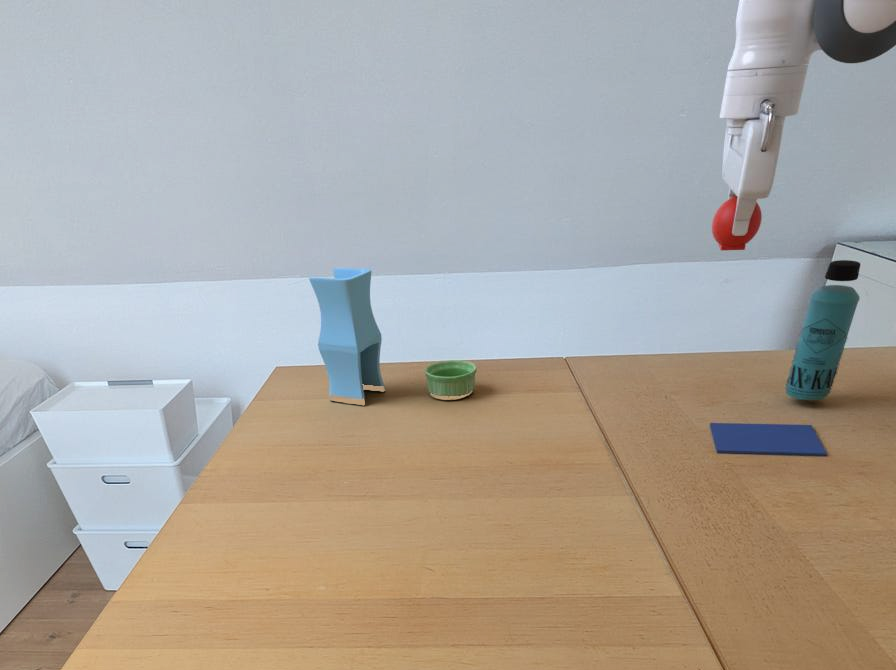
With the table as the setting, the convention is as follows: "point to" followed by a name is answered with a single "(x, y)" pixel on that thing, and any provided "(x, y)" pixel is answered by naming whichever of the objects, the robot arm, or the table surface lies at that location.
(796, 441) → the cloth
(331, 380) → the vase
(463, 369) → the ramekin
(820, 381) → the beverage bottle
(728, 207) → the red ball with base
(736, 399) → the table surface
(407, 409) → the table surface
